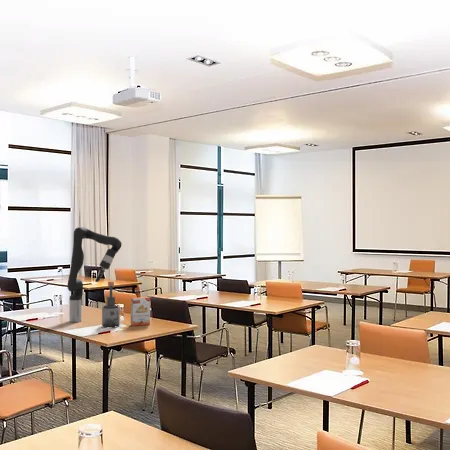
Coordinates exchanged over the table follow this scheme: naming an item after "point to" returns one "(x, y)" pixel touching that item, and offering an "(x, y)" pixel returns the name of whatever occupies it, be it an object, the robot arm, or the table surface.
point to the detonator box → (110, 313)
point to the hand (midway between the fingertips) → (96, 281)
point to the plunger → (111, 287)
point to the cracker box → (140, 311)
